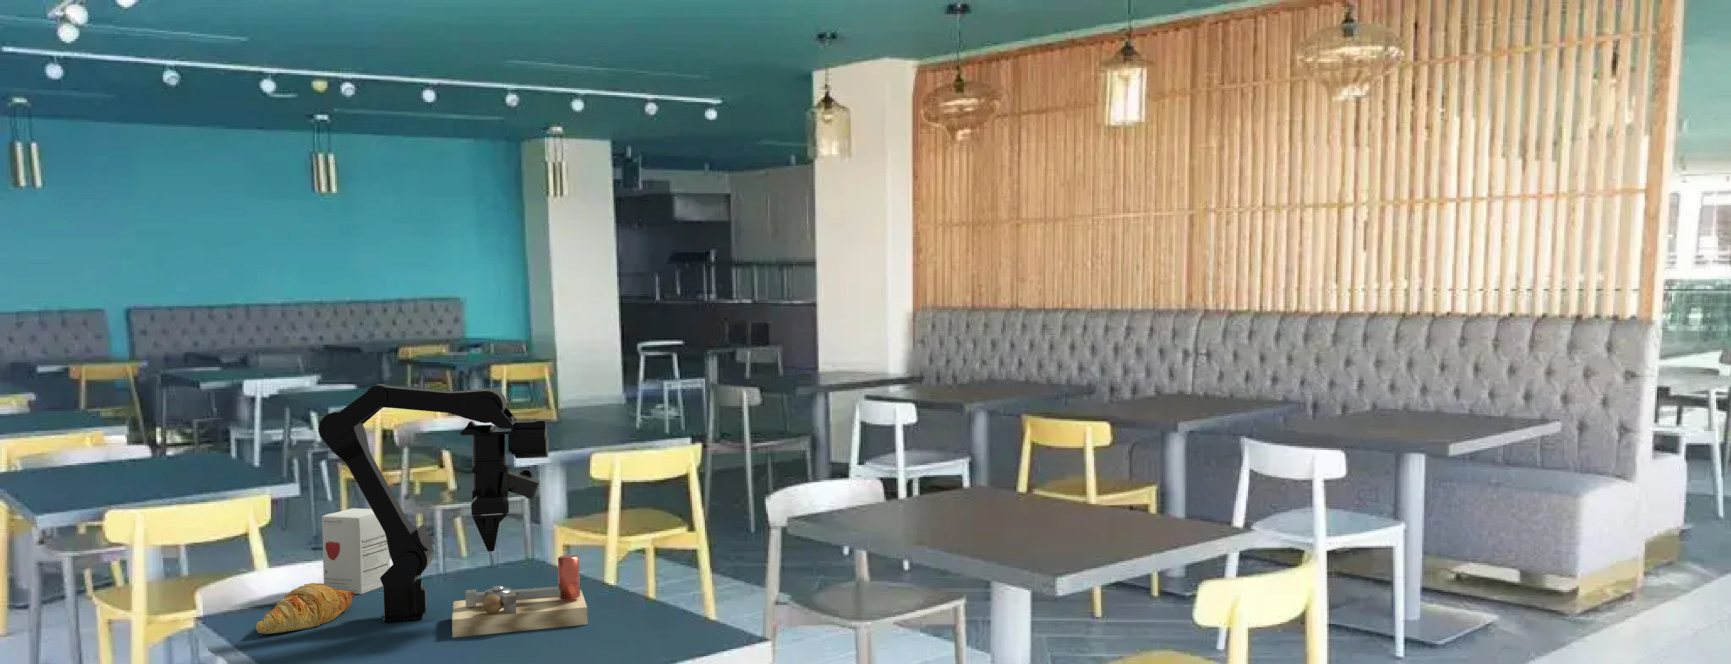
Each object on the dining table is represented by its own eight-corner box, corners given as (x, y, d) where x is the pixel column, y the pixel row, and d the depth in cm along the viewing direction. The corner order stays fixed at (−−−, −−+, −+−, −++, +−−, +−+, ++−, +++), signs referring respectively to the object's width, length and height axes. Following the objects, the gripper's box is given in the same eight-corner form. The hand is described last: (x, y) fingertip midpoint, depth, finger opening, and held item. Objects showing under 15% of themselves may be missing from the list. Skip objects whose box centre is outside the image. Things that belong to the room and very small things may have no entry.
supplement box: (321, 592, 237) (319, 515, 236) (354, 581, 246) (351, 507, 245) (361, 594, 234) (358, 517, 234) (392, 583, 243) (389, 508, 242)
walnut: (482, 616, 205) (482, 597, 205) (482, 611, 208) (482, 593, 208) (502, 614, 206) (502, 595, 206) (502, 609, 209) (501, 591, 209)
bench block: (452, 637, 204) (451, 601, 203) (454, 617, 216) (453, 584, 216) (587, 624, 210) (586, 589, 210) (581, 606, 223) (580, 573, 222)
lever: (465, 608, 209) (464, 566, 209) (467, 602, 213) (466, 561, 213) (580, 599, 213) (579, 558, 213) (579, 593, 218) (578, 553, 217)
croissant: (272, 660, 205) (287, 620, 203) (230, 628, 207) (245, 588, 206) (363, 624, 224) (378, 587, 223) (324, 595, 227) (338, 559, 226)
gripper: (537, 463, 212) (539, 553, 213) (534, 450, 230) (535, 533, 231) (470, 467, 209) (472, 557, 209) (471, 453, 227) (473, 537, 227)
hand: (490, 545), depth 219 cm, fingers open, 9 cm apart
